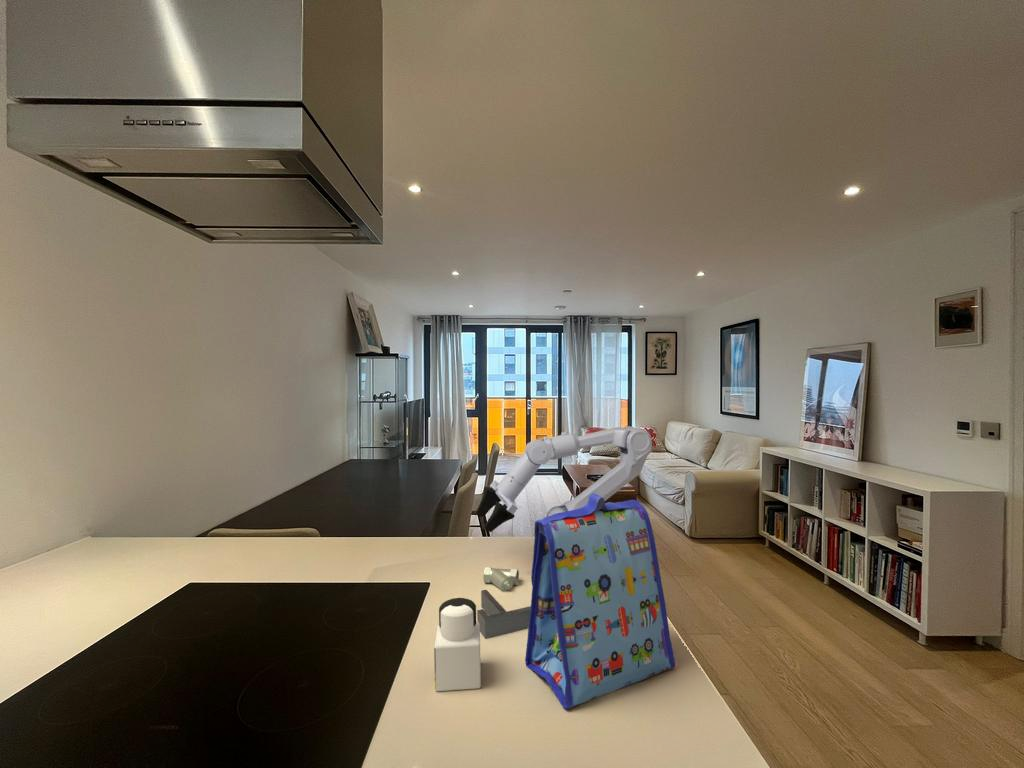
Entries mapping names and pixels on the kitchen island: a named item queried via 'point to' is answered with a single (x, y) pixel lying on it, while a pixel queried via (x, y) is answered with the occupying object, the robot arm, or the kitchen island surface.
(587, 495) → the robot arm
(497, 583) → the pipe fitting
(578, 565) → the lunch bag
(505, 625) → the grey angle bracket
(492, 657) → the kitchen island surface
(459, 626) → the medicine bottle
